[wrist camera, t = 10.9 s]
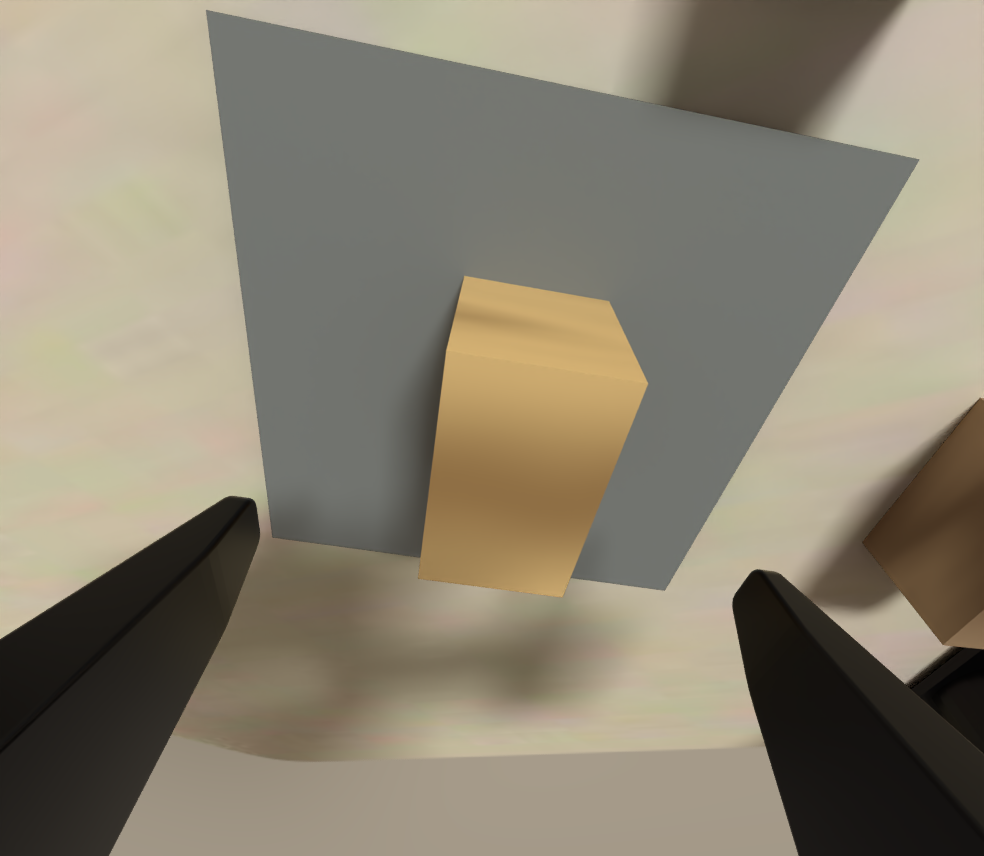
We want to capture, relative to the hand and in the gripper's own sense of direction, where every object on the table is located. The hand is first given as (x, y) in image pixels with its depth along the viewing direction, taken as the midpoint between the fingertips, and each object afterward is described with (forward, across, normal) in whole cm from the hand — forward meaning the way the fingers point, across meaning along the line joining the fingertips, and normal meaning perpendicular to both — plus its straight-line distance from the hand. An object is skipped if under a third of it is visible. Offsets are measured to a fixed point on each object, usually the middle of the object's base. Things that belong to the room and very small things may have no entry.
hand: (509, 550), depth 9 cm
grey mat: (+6, 0, 0) cm, 6 cm away
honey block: (+5, 0, 0) cm, 5 cm away
